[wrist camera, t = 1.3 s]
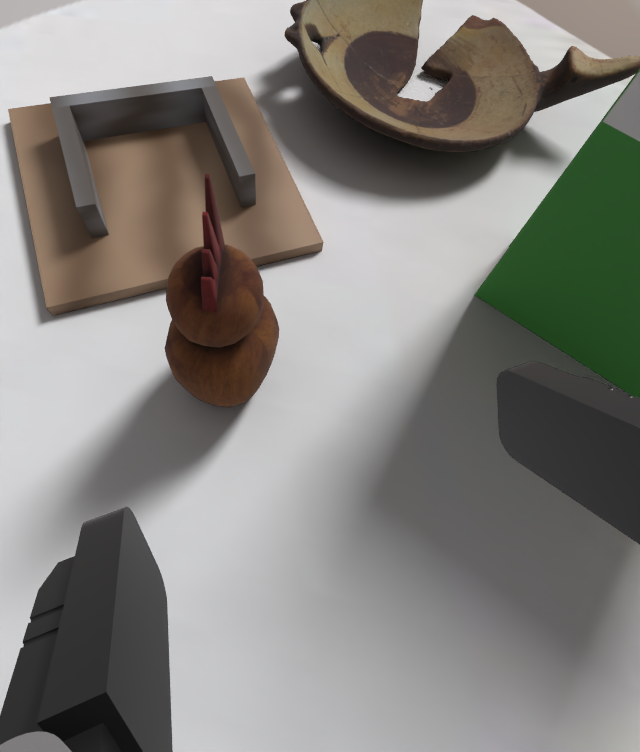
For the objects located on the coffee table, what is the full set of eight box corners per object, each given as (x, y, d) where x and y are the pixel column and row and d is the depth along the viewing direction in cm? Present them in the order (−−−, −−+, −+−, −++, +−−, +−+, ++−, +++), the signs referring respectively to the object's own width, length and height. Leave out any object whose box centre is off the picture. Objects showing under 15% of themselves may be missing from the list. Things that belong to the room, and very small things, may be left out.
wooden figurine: (213, 319, 32) (177, 131, 19) (287, 349, 32) (305, 179, 18) (165, 400, 30) (81, 246, 16) (246, 434, 29) (231, 307, 16)
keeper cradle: (52, 315, 31) (24, 280, 27) (14, 120, 38) (-13, 71, 34) (321, 250, 36) (328, 213, 32) (244, 88, 43) (242, 42, 39)
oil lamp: (349, 3, 51) (363, -88, 44) (599, 114, 48) (656, 35, 41) (240, 109, 42) (236, 16, 35) (540, 255, 39) (601, 184, 32)
